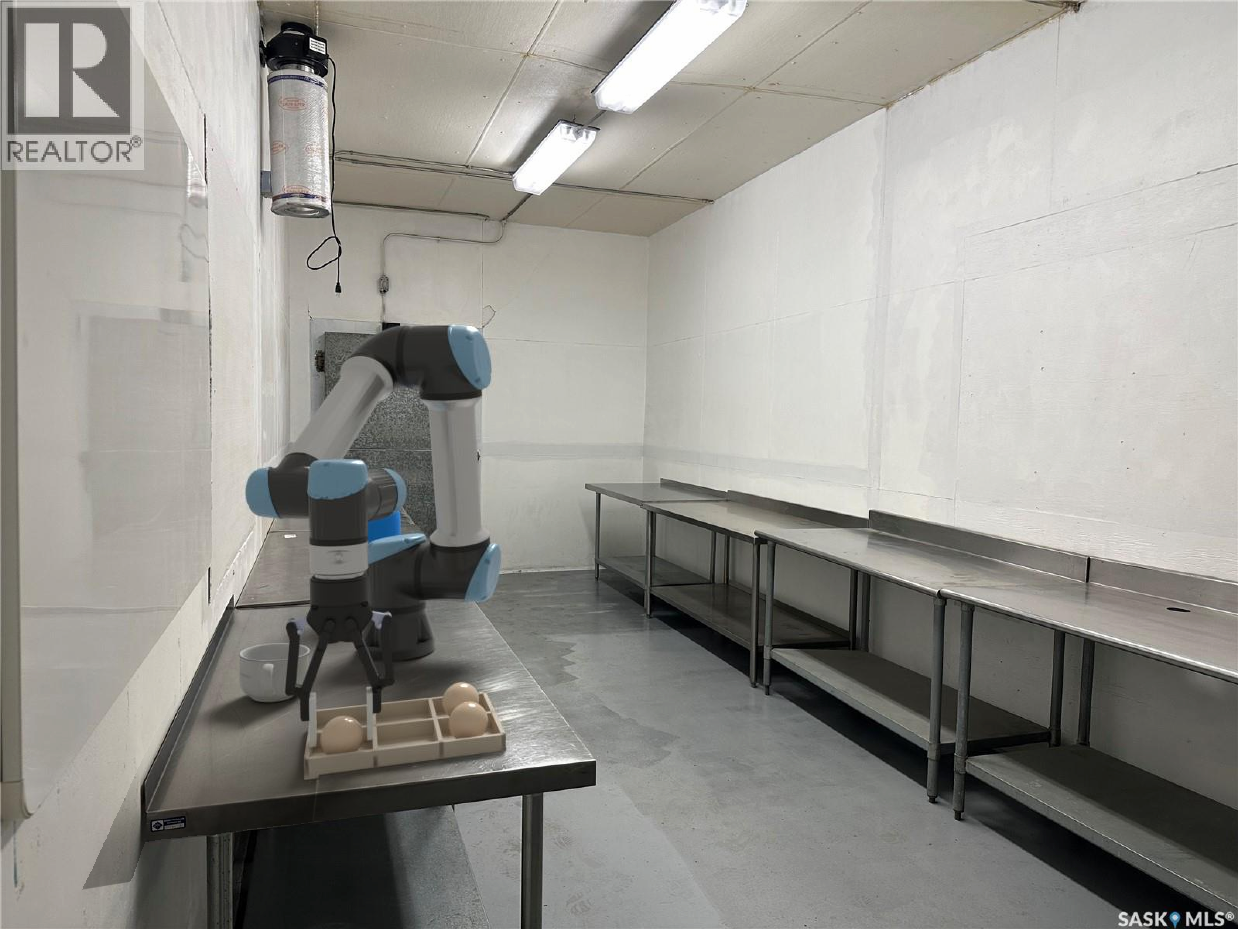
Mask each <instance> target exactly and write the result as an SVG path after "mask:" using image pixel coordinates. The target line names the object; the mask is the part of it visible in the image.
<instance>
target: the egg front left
mask: <svg viewBox="0 0 1238 929" xmlns="http://www.w3.org/2000/svg"><path fill="white" fill-rule="evenodd" d="M487 726H488V716H487V713H486V711H485V709H484V708H483V707H482V706H481V705H479V704H477V703H475V702H464V703H461V704H459V705H458V706H457V707H455V708H454V710H453V711H452V713H451V714H450V717H449V729H450V732H451V734H452V735H453V736H454V737H455V738H456V739H459V738H467V737H475V736H482V735H483V734H484V733H485V731H486V729H487Z"/></svg>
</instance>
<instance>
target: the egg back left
mask: <svg viewBox="0 0 1238 929" xmlns="http://www.w3.org/2000/svg"><path fill="white" fill-rule="evenodd" d="M478 693H479V692H478V691H477V689H476V688H475V687H474V685H472V684H471V683H468V682H461V681H460V682H456V683H453V684H452V685H450V686H449V687H448V688H447V689H446V690H445V692H444V694H443V695H442V696H443V700H442V705H443V709H444V711H445V713H446V714H447V715H448V716H450V714H451V713H452V711H453V710H454V708H455V707H457V706H458V705H459V704H461V703H464V702H475V703H477V704H479V695H478Z"/></svg>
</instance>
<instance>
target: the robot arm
mask: <svg viewBox="0 0 1238 929" xmlns="http://www.w3.org/2000/svg"><path fill="white" fill-rule="evenodd" d="M339 374H340V375H339V376H340V378H339V380H338V381H337V382H336V384H335V385H334V387H333V388H332V389H331V391H330V393H329V394H328V395H327V396H326V398H325V399H324V401H323V402H322V404H321V405H320V406H319V408H318V409H317V410H316V412H315V414H314V415H313V416H312V418H311V419H310V420H309V422H308V423H307V424H306V426H305V427H304V428H303V430H302V432H301V433H300V435H299V436H298V437H297V439H296V440H295V442H294V443H293V444H292V446H291V447H290V449H289V450H288V451H287V452H286V455H285V456H284V457H283V458H282V460H281V461H280V462H279V464H278V465H277V466H276V467H273V466H268V467H261V468H257V469H256V470H253V472H251V473H250V474H249V476H248V478H247V481H246V483H245V484H246V485H245V491H244V493H245V502H246V503H247V506H248V508H249V510H250V511H251V513H253V514H254V515H255V516H258V517H261V518H269V519H278V520H284V519H285V520H287V519H288V520H292V519H293V520H295V519H296V520H300V519H301V520H304V519H305V520H308V523H309V524H308V525H309V526H308V527H309V528H308V529H309V539H308V540H309V544H308V548H309V549H308V550H309V551H308V552H309V555H308V556H309V557H308V558H309V572H310V573H311V574H312V576H311V577H310V579H309V602H310V603H309V610H308V611H307V613H306V615H304V616H301V617H298V618H294V617H292V618H291V617H290V618H288V619H287V622H286V626H285V631H286V633H287V637H288V640H289V642H288V643H289V652H288V663H287V674H286V686H285V694H286V695H287V696H292V695H293V697H297V698H298V699H299V715H300V718H299V719H300V721H301V722H309V724H308V727H309V726H310V747H315V746H316V742H317V718H316V710H317V692H316V691H315V692H312V689H313V686H314V683H315V680H316V678H317V675H318V673H319V669H320V666H321V665H322V664H321V663H322V661H323V657H324V655H325V652H326V650H327V647H328V645H330V644H333V645H334V644H337V643H339V642H342V643H353V646H354V648H355V650H356V653H357V655H358V658H359V660H360V663H361V665H362V667H363V670H364V672H365V674H366V677H367V680H368V682H369V685H370V686H366V688H365V689H366V704H367V740H373V714H375V713H380V711H381V703H382V692H383V689H384V688H385V687H390V686H393V685H394V684H395V682H396V681H395V672H394V663H393V661H394V662H395V661H405V660H411V659H412V660H413V659H416V658H421V657H424V656H426V655H428V654H431V653H432V652H434V651H435V649H436V637H435V633H434V629H433V627H432V625H431V621H430V618H429V616H428V613H427V601H428V602H429V601H432V602H448V603H449V602H451V603H452V602H454V603H465V604H469V603H483V602H486V601H487V600H489V599H490V598H491V596H492V595H493V594H494V591H495V589H496V586H497V584H498V580H499V576H500V571H501V562H502V561H501V560H502V551H501V547H500V545H499V544H497V543H495V542H491V538H490V537H491V535H490V531H489V530H487V528H485V527H484V526H483V525H482V516H481V514H482V513H481V512H482V509H481V495H480V494H481V492H480V476H479V474H480V473H479V459H478V443H477V442H478V441H477V424H476V408H475V407H476V405H477V403H479V401H481V399H482V398H483V390H484V389H487V388H488V387H489V386H490V384H491V380H492V360H491V355H490V350H489V347H488V344H487V342H486V339H485V337H484V336H483V334H482V333H481V331H480V330H478V328H476V327H474V326H469V325H458V324H444V325H443V324H442V325H397V326H392V327H389V328H386V329H383V330H381V331H380V332H378V333H376V334H374V335H373V336H371V337H369V338H368V339H367V340H365V341H364V342H363V343H361V344H360V345H358V347H356V348H355V349H354V350H353V351H352V352H351V354H350V355H348V357H347V358H345V361H344V362H343V364H342V366H341V368H340V372H339ZM400 389H418V397H419V401H420V402H422V403H423V404H424V405H425V406H426V407H427V409H428V418H429V420H428V421H429V432H430V433H429V434H430V435H429V436H430V447H431V449H430V450H431V462H432V475H433V477H432V478H433V490H434V491H433V492H434V503H435V505H434V508H435V517H436V518H435V520H436V529H435V530H434V531H433V533H432V534H431V535H430V536H429V541H427V537H426V534H424V533H418V532H417V533H406V534H401V535H397V536H391V537H386V538H382V539H378V540H375V541H372V542H371V543H369V544H368V522H371V521H375V520H379V519H385V518H386V517H387V518H388V517H389V516H391V515H392V514H394V513H396V512H398V511H400V510H401V509H402V508H403V506H404V504H405V502H406V501H407V500H406V498H407V494H408V492H407V487H406V484H405V481H404V479H403V477H402V476H401V475H400V474H399V473H398V472H396V471H395V470H393V469H390V468H386V467H385V468H383V467H372V468H370V469H368V467H367V464H366V463H365V461H363V460H361V459H356V458H355V459H351V458H350V459H348V458H347V459H345V458H344V457H345V456H346V455H347V453H348V451H349V450H350V448H351V446H352V445H353V443H354V442H355V440H356V438H357V437H358V435H359V434H360V432H361V430H363V427H364V426H365V425H366V423H367V421H368V419H369V418H370V416H371V415H372V413H373V411H374V410H375V408H376V407H377V406H378V404H379V402H381V401H384V400H385V399H387V398H388V397H389V396H390V395H391V394H392V392H393V391H395V390H400ZM364 571H365V572H364ZM307 625H308V626H309V627H310V628H311V630H313V632H315V634H316V635H317V636H318V639H317V642H316V645H315V648H314V650H313V653H312V656H311V659H310V662H309V663H308V670H307V673H306V675H305V678H304V681H303V684H302V685H301V684H297V683H296V681H297V669H298V658H299V647H300V645H301V635H303V634H304V633H305V631H306V630H305V629H306V626H307ZM374 661H377V662H382V663H383V671H384V674H383V675H380V676H379V673H378V670H377V668H376V666H375V663H374Z"/></svg>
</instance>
